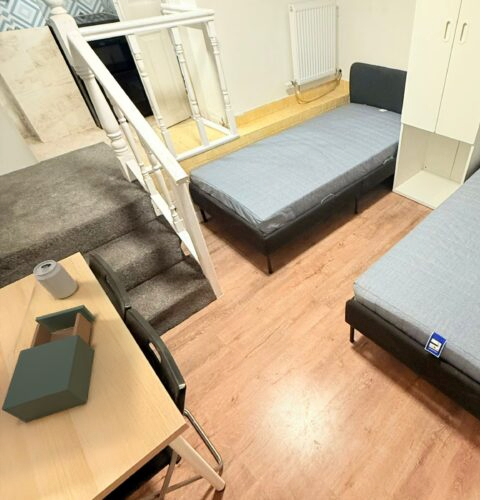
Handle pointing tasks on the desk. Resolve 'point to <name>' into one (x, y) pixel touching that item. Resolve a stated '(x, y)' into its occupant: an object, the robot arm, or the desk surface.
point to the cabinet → (50, 379)
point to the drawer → (63, 325)
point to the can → (55, 279)
